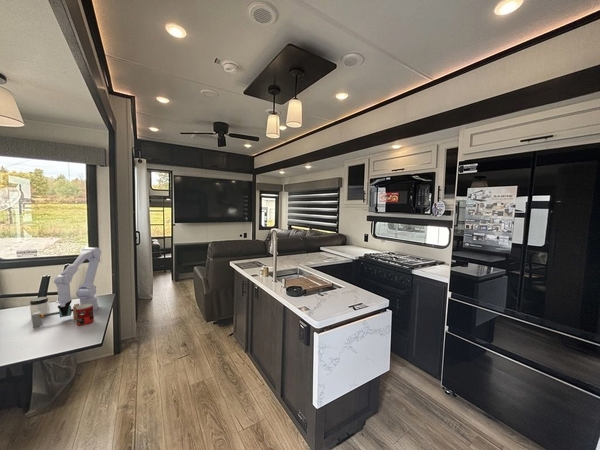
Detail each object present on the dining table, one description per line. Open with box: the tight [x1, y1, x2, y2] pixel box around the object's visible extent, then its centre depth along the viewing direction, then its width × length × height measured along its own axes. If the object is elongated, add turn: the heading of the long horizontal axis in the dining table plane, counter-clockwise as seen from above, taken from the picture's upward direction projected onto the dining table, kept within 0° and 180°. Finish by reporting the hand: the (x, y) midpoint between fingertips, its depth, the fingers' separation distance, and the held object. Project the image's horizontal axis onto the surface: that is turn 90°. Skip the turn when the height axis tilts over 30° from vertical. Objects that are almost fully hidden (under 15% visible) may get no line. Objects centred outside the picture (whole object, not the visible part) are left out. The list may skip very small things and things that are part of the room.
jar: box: [29, 296, 51, 320], centre depth 162 cm, size 9×8×12 cm
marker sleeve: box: [58, 305, 73, 319], centre depth 157 cm, size 5×5×5 cm
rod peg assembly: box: [31, 302, 80, 329], centre depth 155 cm, size 21×8×8 cm, turn 127°
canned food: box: [76, 304, 95, 327], centre depth 153 cm, size 8×8×11 cm
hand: (65, 313), depth 157 cm, fingers closed on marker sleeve, 5 cm apart
